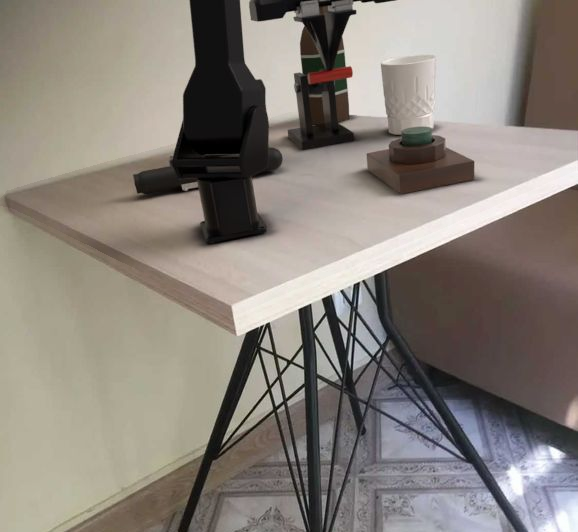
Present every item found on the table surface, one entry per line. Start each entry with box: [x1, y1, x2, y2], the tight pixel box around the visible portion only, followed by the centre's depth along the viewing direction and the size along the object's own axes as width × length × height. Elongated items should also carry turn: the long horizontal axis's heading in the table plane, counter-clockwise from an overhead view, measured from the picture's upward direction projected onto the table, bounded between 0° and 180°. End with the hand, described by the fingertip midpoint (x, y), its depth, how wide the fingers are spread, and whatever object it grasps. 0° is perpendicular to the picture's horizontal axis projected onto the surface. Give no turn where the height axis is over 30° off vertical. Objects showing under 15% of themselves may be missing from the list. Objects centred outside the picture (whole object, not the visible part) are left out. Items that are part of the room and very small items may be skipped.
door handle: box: [132, 146, 284, 195], centre depth 97 cm, size 3×20×16 cm
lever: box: [307, 65, 354, 95], centre depth 100 cm, size 12×6×2 cm, turn 13°
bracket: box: [287, 68, 355, 151], centre depth 106 cm, size 10×8×10 cm
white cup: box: [380, 54, 437, 136], centre depth 103 cm, size 8×8×10 cm
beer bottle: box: [299, 6, 350, 125], centre depth 114 cm, size 8×8×24 cm
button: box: [400, 127, 433, 146], centre depth 82 cm, size 4×4×2 cm
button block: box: [365, 134, 475, 195], centre depth 84 cm, size 12×9×4 cm
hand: (329, 69), depth 94 cm, fingers closed, pressing on lever
